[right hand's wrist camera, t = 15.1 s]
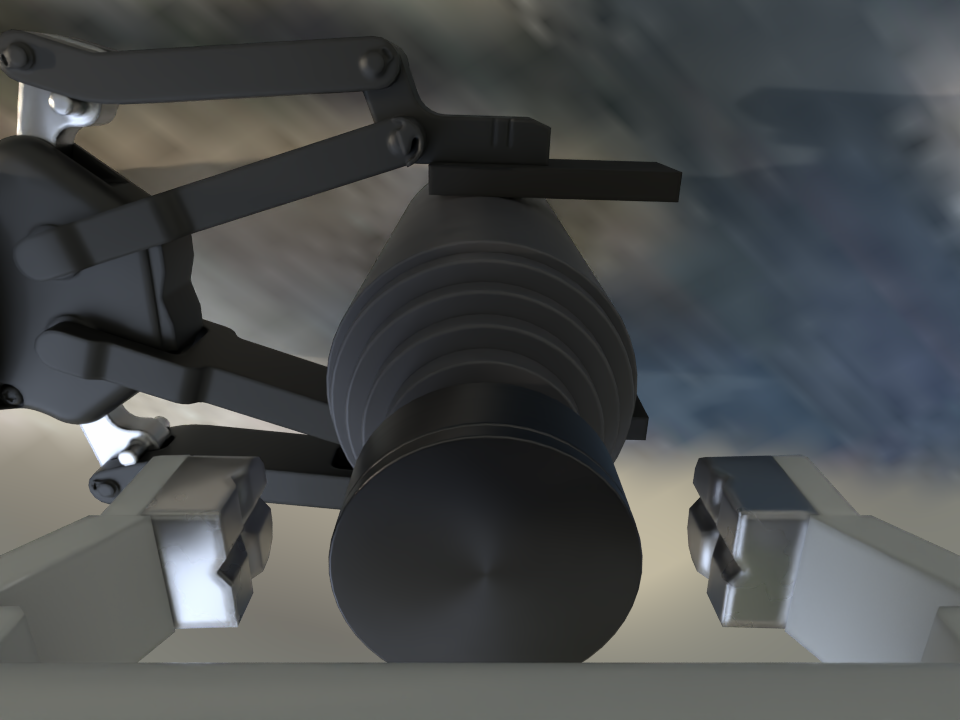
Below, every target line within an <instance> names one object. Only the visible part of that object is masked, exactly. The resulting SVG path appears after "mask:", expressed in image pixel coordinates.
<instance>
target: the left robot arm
mask: <svg viewBox="0 0 960 720" xmlns="http://www.w3.org/2000/svg"><path fill="white" fill-rule="evenodd" d="M0 68H1V69H2V70H3V71H4V72H5V73H6V74H7V75H8V76H9V77H10V78H12V79H14V80H16V81H18V82H19V98H18V120H17V135H14V136H10V137H6V138H4V139H1V140H0V410H4V409H15V408H27V409H32V410H36V411H39V412H42V413H45V414H47V415H49V416H51V417H54V418H56V419H58V420H60V421H62V422H65V423H70V424H80V426H81V428H82V430H83V432H84V434H85V436H86V438H87V440H88V442H89V444H90V446H91V448H92V449H93V451H94V453H95V455H96V457H97V459H98V461H99V463H100V465H101V468H100V469H98V471H96V473H94V474H93V476H92V477H91V478H90V480H89V489H90V492H91V493H92V494H93V496H94V497H95V498H96V499H98V500H100V501H101V502H104V503H107V504H111V503H112V502H113V500H114V499H115V498H116V497H117V496H118V495H119V494H120V493H121V492H122V491H123V489H124V488H125V487H126V486H127V485H128V484H129V483H130V482H131V481H132V480H133V478H134V477H135V476H136V475H137V474H138V473H139V472H140V471H141V470H142V468H143V467H144V466H145V465H146V464H147V463H148V462H149V461H150V460H151V459H152V458H153V457H155V456H162V455H191V456H247V457H259V458H260V459H261V460H262V462H263V463H264V468H265V473H266V479H267V484H266V486H265V488H264V490H263V492H262V494H261V495H260V498H261V499H262V500H263V501H264V502H265V503H276V504H287V505H297V506H308V507H319V508H329V509H340V510H341V507H342V504H343V501H344V498H345V494H346V491H347V488H348V485H349V482H350V479H351V476H352V473H353V470H354V469H353V467H352V466H351V464H350V463H349V461H348V460H347V458H346V456H345V453H344V451H343V449H342V447H341V445H340V443H339V440H338V437H337V434H336V431H335V428H334V424H333V421H332V418H331V415H330V410H329V404H328V399H327V382H326V375H327V367H326V366H323V365H320V364H317V363H314V362H311V361H307V360H304V359H301V358H298V357H295V356H292V355H289V354H286V353H283V352H280V351H277V350H274V349H271V348H268V347H265V346H262V345H259V344H256V343H253V342H250V341H247V340H244V339H241V338H239V337H238V336H237V335H236V333H235V332H234V331H233V330H232V329H230V328H227V327H225V326H222V325H219V324H216V323H213V322H210V321H207V320H204V319H202V313H201V305H200V303H199V300H198V298H197V295H196V293H195V290H194V288H193V285H192V283H191V272H192V265H193V258H194V252H193V245H192V237H191V234H192V233H195V232H198V231H201V230H205V229H208V228H211V227H214V226H217V225H220V224H223V223H227V222H230V221H233V220H236V219H239V218H242V217H246V216H249V215H252V214H255V213H258V212H261V211H264V210H268V209H271V208H274V207H277V206H280V205H283V204H287V203H290V202H293V201H296V200H299V199H302V198H306V197H309V196H312V195H315V194H318V193H321V192H324V191H328V190H331V189H334V188H337V187H340V186H343V185H347V184H350V183H353V182H356V181H359V180H362V179H366V178H369V177H372V176H375V175H378V174H381V173H384V172H388V171H391V170H394V169H397V168H400V167H403V166H407V167H409V166H411V165H413V164H429V195H449V196H483V197H517V198H551V199H585V200H619V201H653V202H678V200H679V193H680V185H681V178H682V172H680V171H677V170H675V169H672V168H670V167H667V166H665V165H662V164H660V163H657V162H634V161H601V160H568V159H549V149H550V134H551V128H550V127H548V126H547V125H544V124H542V123H540V122H538V121H536V120H534V119H532V118H529V117H510V116H509V117H508V116H477V115H445V114H439V113H436V112H434V111H432V110H430V109H429V108H428V107H426V106H425V104H424V103H423V102H422V101H421V99H420V97H419V95H418V92H417V89H416V86H415V83H414V80H413V77H412V74H411V72H410V69H409V63H408V59H407V56H406V55H405V53H404V52H403V50H402V49H401V48H399V47H398V46H396V45H395V44H393V43H391V42H389V41H388V40H385V39H384V38H381V37H375V36H365V37H349V38H332V39H315V40H298V41H281V42H264V43H247V44H231V45H214V46H197V47H180V48H163V49H146V50H130V51H117V50H114V49H111V48H107V47H104V46H101V45H98V44H95V43H92V42H88V41H85V40H82V39H79V38H74V37H67V36H59V35H53V34H45V33H37V32H29V31H21V30H12V29H11V30H8V31H6V32H3V33H2V34H1V35H0ZM360 91H363V93H364V96H365V98H366V101H367V104H368V107H369V109H370V112H371V115H372V117H373V120H374V124H371V125H368V126H365V127H362V128H359V129H356V130H353V131H350V132H347V133H344V134H341V135H338V136H335V137H331V138H328V139H325V140H322V141H319V142H316V143H313V144H310V145H307V146H304V147H301V148H298V149H295V150H292V151H289V152H285V153H282V154H279V155H276V156H273V157H270V158H267V159H264V160H261V161H258V162H255V163H252V164H249V165H246V166H242V167H239V168H236V169H233V170H230V171H227V172H224V173H221V174H218V175H215V176H212V177H209V178H206V179H203V180H199V181H196V182H193V183H190V184H187V185H184V186H181V187H178V188H175V189H172V190H169V191H166V192H163V193H159V194H156V195H153V196H151V195H149V194H148V193H147V192H145V191H144V190H142V189H141V188H139V187H138V186H136V185H135V184H133V183H132V182H131V181H129V180H128V179H126V178H125V177H123V176H122V175H120V174H119V173H117V172H116V171H115V170H113V169H112V168H110V167H109V166H107V165H106V164H104V163H103V162H102V161H100V160H99V159H97V158H96V157H94V156H93V155H91V154H90V153H88V152H87V151H86V150H84V149H83V148H81V147H80V146H78V145H77V144H75V143H74V139H75V135H76V134H77V132H78V130H80V129H81V128H82V127H88V126H99V125H105V124H108V123H109V122H111V121H112V120H113V119H114V117H115V115H116V112H117V109H118V106H119V104H145V103H170V102H187V101H204V100H222V99H239V98H256V97H274V96H291V95H308V94H326V93H343V92H360ZM138 392H143V393H146V394H149V395H152V396H156V397H159V398H162V399H165V400H168V401H172V402H175V403H180V404H192V403H197V402H204V403H209V404H212V405H215V406H218V407H221V408H225V409H228V410H231V411H234V412H237V413H240V414H244V415H247V416H250V417H253V418H256V419H260V420H263V421H266V422H269V423H272V424H275V425H279V426H282V427H285V428H288V429H291V430H295V431H298V432H301V433H304V434H295V433H284V432H274V431H264V430H254V429H244V428H234V427H223V426H213V425H197V424H195V425H180V426H174V427H170V423H169V421H168V420H167V419H166V418H164V417H161V416H158V417H155V418H143V417H137V416H134V415H133V414H131V413H129V412H128V411H127V410H126V409H125V408H124V406H123V405H122V404H123V403H124V402H126V401H127V400H129V399H130V398H131V397H133V396H134V395H136V394H137V393H138ZM648 419H649V417H648V415H647V413H646V412H645V410H644V408H643V406H642V404H641V402H640V400H639V398H638V396H637V395H636V401H635V407H634V412H633V415H632V418H631V424H630V427H629V430H628V434H627V437H626V440H646V434H647V426H648ZM305 434H307V435H305Z"/></svg>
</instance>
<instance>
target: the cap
mask: <svg viewBox="0 0 960 720" xmlns="http://www.w3.org/2000/svg"><path fill="white" fill-rule="evenodd" d="M641 574H642V549H641V541H640V537H639V533H638V530H637V527H636V523H635V520H634V518H633V515H632V512H631V510H630V507H629V504H628V501H627V499H626V496H625V493H624V491H623V488H622V485H621V482H620V480H619V477H618V474H617V472H616V469H615V466H614V463H613V461H612V459H611V456H610V454H609V452H608V450H607V448H606V446H605V445H604V443H603V442H602V440H601V439H600V437H599V436H598V434H597V433H596V432H595V431H594V430H593V428H592V427H591V426H590V425H589V424H588V423H587V422H586V421H585V420H584V419H583V418H582V417H580V416H579V415H578V414H577V413H576V412H574V411H573V410H572V409H570V408H569V407H567V406H566V405H564V404H562V403H561V402H559V401H558V400H556V399H553V398H551V397H549V396H547V395H545V394H542V393H540V392H537V391H534V390H531V389H527V388H524V387H520V386H515V385H509V384H504V383H487V382H483V383H466V384H461V385H455V386H450V387H446V388H442V389H439V390H436V391H433V392H430V393H427V394H425V395H423V396H421V397H419V398H416V399H414V400H412V401H411V402H409V403H407V404H406V405H404V406H403V407H401V408H399V409H398V410H396V411H395V412H394V413H393V414H392V415H390V416H389V417H388V418H387V419H385V420H384V421H383V422H382V423H381V425H380V426H379V427H378V428H377V429H376V430H375V431H374V432H373V433H372V435H371V436H370V438H369V439H368V440H367V442H366V443H365V445H364V446H363V448H362V450H361V452H360V454H359V456H358V458H357V460H356V463H355V466H354V470H353V473H352V476H351V479H350V482H349V485H348V488H347V491H346V494H345V498H344V501H343V504H342V507H341V510H340V513H339V516H338V519H337V522H336V526H335V529H334V532H333V535H332V538H331V544H330V551H329V576H330V582H331V587H332V591H333V594H334V597H335V600H336V603H337V605H338V608H339V610H340V612H341V613H342V615H343V617H344V619H345V621H346V622H347V624H348V625H349V627H350V628H351V629H352V631H353V632H354V634H355V635H356V636H357V637H358V638H359V639H360V640H361V641H362V642H363V643H364V644H365V645H366V647H368V648H369V649H370V650H371V651H372V652H374V653H375V654H376V655H377V656H379V657H380V658H381V659H382V660H384V661H386V662H387V663H582V662H584V661H585V660H587V659H588V658H589V657H591V656H592V655H593V654H595V653H596V652H597V651H598V650H599V649H601V648H602V647H603V646H604V645H605V644H606V643H607V642H608V641H609V640H610V639H611V638H612V637H613V636H614V635H615V633H616V632H617V630H618V629H619V628H620V626H621V625H622V624H623V622H624V621H625V619H626V617H627V616H628V614H629V612H630V610H631V608H632V606H633V604H634V601H635V598H636V595H637V593H638V590H639V585H640V580H641Z"/></svg>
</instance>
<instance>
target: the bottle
mask: <svg viewBox="0 0 960 720" xmlns="http://www.w3.org/2000/svg"><path fill="white" fill-rule="evenodd" d="M326 382H327V399H328V404H329V410H330V415H331V418H332V421H333V424H334V428H335V431H336V434H337V437H338V440H339V443H340V445H341V447H342V449H343V451H344V453H345V456H346V458H347V460H348V461H349V463H350V464H351V466H352V467H353V469H354V466H355V463H356V460H357V458H358V456H359V454H360V452H361V450H362V448H363V446H364V445H365V443H366V442H367V440H368V439H369V438H370V436H371V435H372V433H373V432H374V431H375V430H376V429H377V428H378V427H379V426H380V425H381V423H382V422H383V421H384V420H385V419H387V418H388V417H389V416H390V415H392V414H393V413H394V412H395V411H396V410H398V409H399V408H401V407H403V406H404V405H406V404H407V403H409V402H411V401H412V400H414V399H416V398H419V397H421V396H423V395H425V394H427V393H430V392H433V391H436V390H439V389H442V388H446V387H450V386H455V385H461V384H466V383H483V382H487V383H504V384H509V385H515V386H520V387H524V388H527V389H531V390H534V391H537V392H540V393H542V394H545V395H547V396H549V397H551V398H553V399H556V400H558V401H559V402H561V403H562V404H564V405H566V406H567V407H569V408H570V409H572V410H573V411H574V412H576V413H577V414H578V415H579V416H580V417H582V418H583V419H584V420H585V421H586V422H587V423H588V424H589V425H590V426H591V427H592V428H593V430H594V431H595V432H596V433H597V434H598V436H599V437H600V439H601V440H602V442H603V443H604V445H605V446H606V448H607V450H608V452H609V454H610V456H611V459H612V461H613V463H614V462H615V460H616V459H617V457H618V455H619V453H620V451H621V449H622V447H623V444H624V442H625V440H626V437H627V434H628V430H629V427H630V424H631V418H632V415H633V412H634V407H635V401H636V395H637V368H636V361H635V354H634V350H633V347H632V343H631V340H630V336H629V334H628V332H627V330H626V327H625V325H624V323H623V321H622V319H621V317H620V315H619V314H618V312H617V311H616V309H615V307H614V306H613V304H612V303H611V301H610V300H609V298H608V296H607V295H606V293H605V292H604V290H603V289H602V287H601V285H600V284H599V282H598V281H597V279H596V278H595V276H594V274H593V273H592V271H591V270H590V268H589V267H588V265H587V263H586V262H585V260H584V259H583V257H582V256H581V254H580V252H579V251H578V249H577V248H576V246H575V245H574V243H573V241H572V240H571V238H570V237H569V235H568V234H567V232H566V230H565V229H564V227H563V226H562V224H561V223H560V221H559V219H558V218H557V216H556V215H555V213H554V212H553V210H552V208H551V207H550V205H549V204H548V202H547V201H546V199H545V198H517V197H483V196H449V195H429V183H428V184H427V185H426V186H425V187H424V188H423V189H421V190H420V191H419V192H418V193H417V195H416V196H415V197H414V198H413V200H412V201H411V202H410V204H409V206H408V207H407V209H406V210H405V212H404V214H403V216H402V217H401V219H400V221H399V222H398V224H397V226H396V228H395V229H394V231H393V233H392V235H391V236H390V238H389V240H388V241H387V243H386V245H385V247H384V248H383V250H382V252H381V253H380V255H379V257H378V259H377V260H376V262H375V264H374V266H373V267H372V269H371V271H370V272H369V274H368V276H367V278H366V279H365V281H364V283H363V284H362V286H361V288H360V290H359V291H358V293H357V295H356V297H355V298H354V300H353V302H352V303H351V305H350V307H349V309H348V310H347V312H346V314H345V315H344V317H343V319H342V321H341V323H340V325H339V327H338V330H337V332H336V334H335V337H334V339H333V343H332V346H331V350H330V354H329V358H328V366H327V375H326Z"/></svg>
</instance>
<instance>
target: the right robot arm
mask: <svg viewBox="0 0 960 720" xmlns="http://www.w3.org/2000/svg"><path fill="white" fill-rule="evenodd" d="M266 484H267V479H266V473H265V468H264V463H263V462H262V460H261V459H260V458H259V457H247V456H191V455H162V456H155V457H153V458H152V459H151V460H150V461H149V462H148V463H147V464H146V465H145V466H144V467H143V468H142V470H141V471H140V472H139V473H138V474H137V475H136V476H135V477H134V478H133V480H132V481H131V482H130V483H129V484H128V485H127V486H126V487H125V488H124V489H123V491H122V492H121V493H120V494H119V495H118V496H117V497H116V498H115V499H114V500H113V502H112V503H111V504H110V505H109V506H108V507H107V508H106V509H105V510H104V512H103V513H102V514H101V515H91V516H90V515H89V516H87V517H84V518H82V519H80V520H78V521H75V522H73V523H71V524H69V525H67V526H64V527H62V528H60V529H58V530H56V531H53V532H51V533H49V534H47V535H45V536H42V537H40V538H38V539H36V540H33V541H31V542H29V543H27V544H25V545H22V546H20V547H18V548H16V549H14V550H11V551H9V552H7V553H5V554H2V555H0V720H960V556H959V555H957V554H955V553H953V552H951V551H948V550H946V549H944V548H942V547H940V546H938V545H935V544H933V543H931V542H929V541H926V540H924V539H922V538H920V537H918V536H915V535H913V534H911V533H909V532H907V531H904V530H902V529H900V528H898V527H896V526H893V525H891V524H889V523H887V522H885V521H882V520H880V519H878V518H876V517H874V516H871V515H869V516H868V515H859V514H858V513H857V511H856V510H855V509H854V508H853V507H852V506H851V505H850V504H849V503H848V502H847V500H846V499H845V498H844V497H843V496H842V495H841V494H840V493H839V492H838V490H837V489H836V488H835V487H834V486H833V485H832V484H831V483H830V482H829V481H828V479H827V478H826V477H825V476H824V475H823V474H822V473H821V472H820V471H819V469H818V468H817V467H816V466H815V465H814V464H813V463H812V462H811V461H810V460H809V458H808V457H805V456H802V455H780V456H732V457H703V458H699V459H698V462H697V465H696V467H695V473H694V479H693V484H694V486H695V488H696V490H697V492H698V493H699V495H700V498H699V499H698V500H697V501H696V502H695V503H694V504H693V505H692V506H691V507H690V508H689V517H688V527H687V529H688V544H689V549H690V554H691V558H692V561H693V563H694V565H695V567H696V570H697V572H699V573H700V574H702V575H703V576H705V577H706V578H708V579H709V581H708V588H707V594H708V596H709V599H710V601H711V603H712V605H713V607H714V609H715V612H716V614H717V616H718V618H719V620H720V622H721V624H722V626H723V627H747V628H784V629H785V632H786V633H788V634H789V635H790V636H791V637H792V638H794V639H795V640H796V641H797V642H798V643H800V644H801V645H802V646H803V647H805V648H806V649H807V650H808V651H809V652H811V653H812V654H813V655H814V656H815V657H817V658H818V659H819V660H820V661H822V662H823V663H138V662H139V661H140V660H141V659H142V658H144V657H145V656H146V655H147V654H148V653H150V652H151V651H152V650H153V649H155V648H156V647H157V646H158V645H159V644H161V643H162V642H163V641H164V640H166V639H167V638H168V637H169V636H170V635H172V634H173V633H174V632H175V629H176V628H211V627H238V625H239V623H240V620H241V618H242V616H243V614H244V612H245V610H246V607H247V605H248V603H249V601H250V599H251V596H252V594H253V588H252V581H251V579H252V578H254V577H255V576H257V575H258V574H260V573H261V572H263V570H264V568H265V565H266V563H267V561H268V558H269V553H270V548H271V543H272V515H271V509H270V507H269V506H268V505H267V504H266V503H265V502H264V501H263V500H262V499H261V498H260V495H261V494H262V492H263V490H264V488H265V486H266Z"/></svg>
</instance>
